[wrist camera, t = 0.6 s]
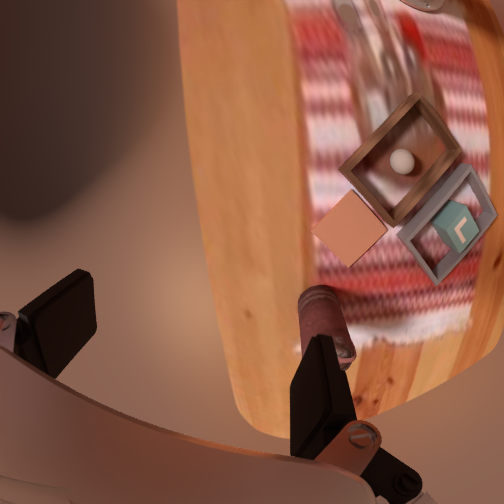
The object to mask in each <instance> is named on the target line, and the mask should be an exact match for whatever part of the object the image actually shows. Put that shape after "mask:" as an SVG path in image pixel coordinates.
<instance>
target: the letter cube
mask: <svg viewBox="0 0 504 504" xmlns="http://www.w3.org/2000/svg"><path fill="white" fill-rule="evenodd" d="M430 222H431V224H432V225H433V227H434V228H435V230H436V231H437V233H438V234H439V236H440V237H441V239H442V240H443V242H444V243H445V244H446V245H448V246H449V247H451V248H452V249H454V250H455V251H457V252H458V253H459V254H460V253H461V252H462V251H463V250H464V249H465V247H466V246H467V245H468V244H469V243H470V242H471V240H472V239H473V238H474V237H475V236H476V234H477V233H478V232H479V229H478V227H477V225H476V223H475V221H474V219H473V217H472V215H471V213H470V212H469V210H468V208H467V206H465V205H463V204H460V203H457V202H455V201H452V200H448V201H447V202H446V203H445V205H444V206H443V207H442V208H441V209H440V210H439V211H438V213H437V214H436V215H435V216H434V217H433V218H432V219H431V220H430Z"/></svg>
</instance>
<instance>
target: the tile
mask: <svg viewBox="0 0 504 504" xmlns="http://www.w3.org/2000/svg"><path fill="white" fill-rule="evenodd" d="M311 231H312V232H313V233H314V234H315V235H316V236H317V237H318V238H319V239H320V240H321V241H322V242H323V243H324V244H325V245H326V246H327V247H328V248H329V249H330V250H331V251H332V252H333V253H334V254H335V255H336V256H337V257H338V258H339V259H340V260H341V261H342V262H343V263H344V264H345V265H346V266H347V267H348V268H349V267H350V266H351V265H352V264H353V263H354V262H355V261H356V260H357V259H358V258H359V257H360V256H361V255H362V254H364V253H365V252H366V251H367V250H368V249H369V248H370V247H371V246H372V245H373V244H374V243H375V242H376V241H377V240H378V239H379V238H380V237H381V236H382V235H383V234H384V233H385V232H386V231H387V229H386V228H385V227H384V225H383V224H382V223H381V222H380V221H379V220H378V218H377V217H376V216H375V215H374V214H373V213H372V212H371V210H370V209H369V208H368V207H367V206H366V205H365V204H364V203H363V201H362V200H361V199H360V198H359V197H358V196H357V195H356V194H355V193H354V192H353V191H352V190H350V191H349V192H348V193H347V194H346V195H345V196H344V197H343V198H342V199H341V200H340V201H339V202H338V203H337V204H336V205H335V206H334V207H333V208H332V209H331V210H330V211H329V212H328V213H327V214H326V215H325V216H324V217H323V218H322V219H321V220H320V221H319V222H318V223H317V224H316V225H315V226H314V227H313V228H312V229H311Z"/></svg>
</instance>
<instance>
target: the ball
mask: <svg viewBox="0 0 504 504" xmlns="http://www.w3.org/2000/svg"><path fill="white" fill-rule="evenodd" d="M390 164H391V166H392V168H393V170H394V171H395V172H397V173H399V174H408V173H410V172H411V171H412V170H413V168H414V158H413V156H412V154H411V153H410V152H409V151H407V150H405V149H397V150H395V151H394V152H393V153H392V155H391V157H390Z"/></svg>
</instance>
